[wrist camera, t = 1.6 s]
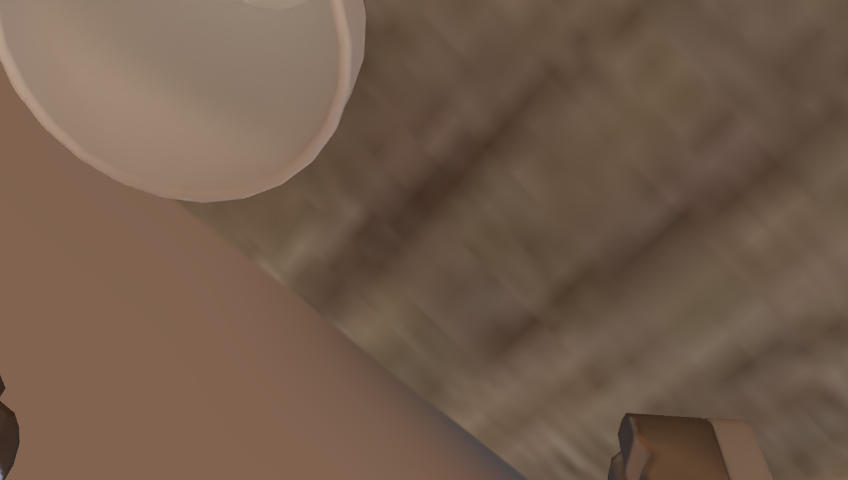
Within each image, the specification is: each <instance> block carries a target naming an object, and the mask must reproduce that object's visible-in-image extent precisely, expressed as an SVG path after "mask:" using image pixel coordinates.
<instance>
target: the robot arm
mask: <svg viewBox="0 0 848 480" xmlns="http://www.w3.org/2000/svg"><path fill="white" fill-rule="evenodd" d="M4 390H5V386H4V383H3V381H2V379H1V376H0V396H1V395H2V393H3V391H4ZM618 436H619V442H620V448H621V452H620V453H618V454H617V455H615V456H614V457H613V458H612V460H611V465H610V469H609V474H608V480H773V478H772V475H771V473H770V470H769V468H768V465H767V462H766V460H765V457H764V455H763V452H762V450H761V447H760V445H759V442H758V439H757V437H756V434H755V432H754V429H753V427H752V426H751V425H750V424H749V423H748V422H747V421H743V420H727V419H711V418H706V419H703V418H695V417H680V416H664V415H649V414H633V413H626V414H625V416H624V417H623V419H622V421H621V425H620V429H619V432H618ZM18 446H19V426H18V423H17V420H16V417H15V414H14V412H13V411H11V410H10V409H9V408H8V407H7V406H5V405H4V404H3V403H2V402H1V401H0V480H5V478H6V476H7V475H8V473H9V471H10V470H11V468H12V466H13V464H14V460H15V457H16V454H17V450H18Z"/></svg>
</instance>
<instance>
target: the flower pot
mask: <svg viewBox="0 0 848 480" xmlns="http://www.w3.org/2000/svg"><path fill="white" fill-rule="evenodd" d="M365 27H366V12H365V8H364V3H363V0H0V62H1V64H2V66H3V68H4V70H5V72H6V74H7V76H8V78H9V80H10V82H11V84H12V86H13V88H14V90H15V91H16V93H17V94H18V95H19V97H20V98H21V99H22V100H23V102H24V103H25V104H26V105H27V107H28V108H29V109H30V111H31V112H32V113H33V115H34V116H35V117H36V118H37V120H38V121H39V122H40V124H41V125H42V126H43V128H44V129H46V130H47V131H48V132H49V133H50V134H51V135H52V136H54V137H55V138H56V139H57V140H58V141H59V142H61V143H62V144H63V145H64V146H65V147H66V148H67V149H68V150H70V151H71V152H72V153H73V154H74V155H75V156H77V157H78V158H79V159H80V160H81V161H83V162H85V163H87V164H88V165H90V166H92V167H93V168H95V169H97V170H99V171H100V172H102V173H104V174H105V175H107V176H109V177H111V178H112V179H114V180H116V181H117V182H119V183H122V184H125V185H127V186H130V187H133V188H136V189H139V190H142V191H145V192H148V193H150V194H153V195H156V196H159V197H162V198H170V199H178V200H185V201H193V202H201V203H207V202H217V201H227V200H236V199H245V198H247V197H250V196H253V195H255V194H258V193H261V192H263V191H266V190H269V189H271V188H274V187H277V186H279V185H282V184H283V183H284V182H286V181H287V180H288V179H290V178H291V177H292V176H294V175H295V174H296V173H298V172H299V171H300V170H302V169H303V168H305V167H306V166H307V165H309V164H310V163H311V162H313V161H314V159H315V158H316V157H317V155H318V154H319V153H320V151H321V150H322V148H323V147H324V146H325V144H326V143H327V142H328V140H329V139H330V138H331V136H332V135H333V133H334V132H335V131H336V129H337V127H338V124H339V122H340V119H341V116H342V113H343V110H344V107H345V105H346V103H347V102H348V100H349V98H350V96H351V94H352V91H353V88H354V85H355V82H356V79H357V76H358V74H359V71H360V68H361V65H362V62H363V59H364V44H365Z"/></svg>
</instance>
